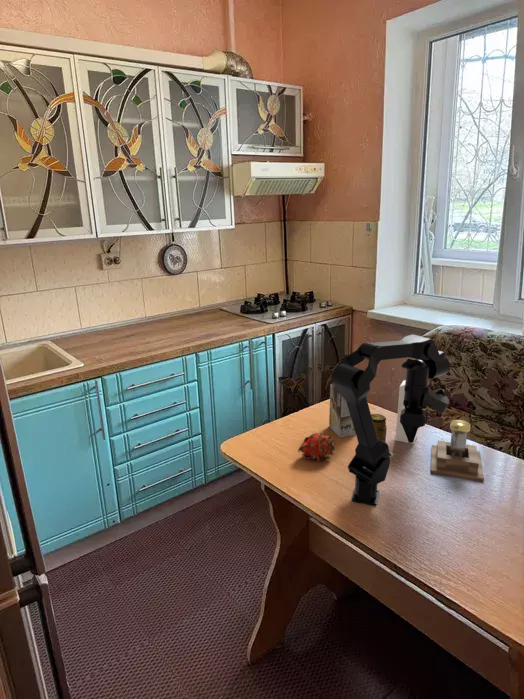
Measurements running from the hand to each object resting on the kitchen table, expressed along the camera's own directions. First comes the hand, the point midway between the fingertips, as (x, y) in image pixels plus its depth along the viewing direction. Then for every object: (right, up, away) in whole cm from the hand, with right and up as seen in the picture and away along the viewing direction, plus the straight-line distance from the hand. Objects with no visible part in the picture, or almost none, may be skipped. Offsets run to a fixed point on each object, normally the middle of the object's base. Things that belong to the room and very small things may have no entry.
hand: (411, 435), depth 136 cm
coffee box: (-14, -4, +32) cm, 35 cm away
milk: (+6, -6, +26) cm, 27 cm away
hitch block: (+16, -10, +10) cm, 22 cm away
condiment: (-6, -9, +17) cm, 20 cm away
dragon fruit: (-25, -10, +14) cm, 30 cm away
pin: (+16, -9, +10) cm, 21 cm away
